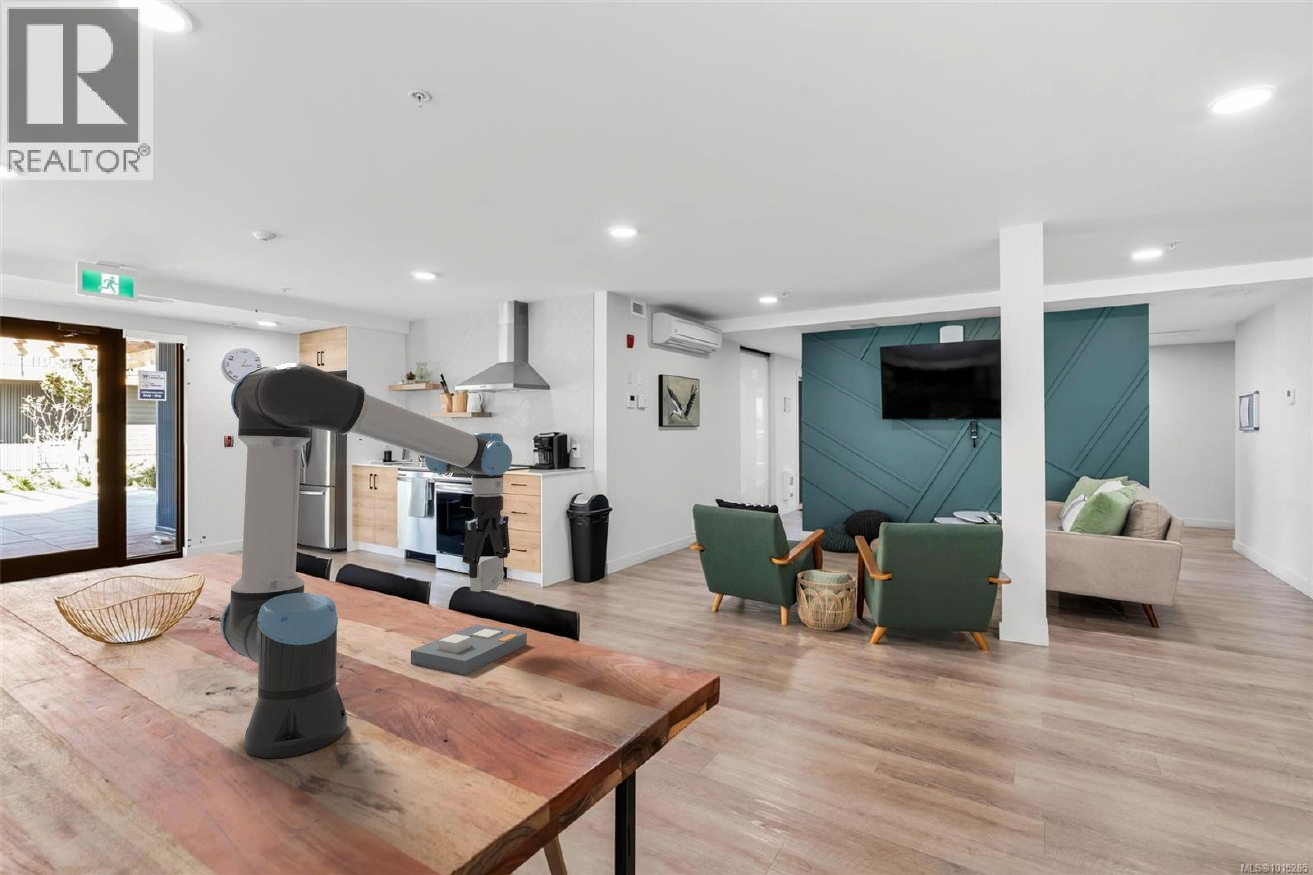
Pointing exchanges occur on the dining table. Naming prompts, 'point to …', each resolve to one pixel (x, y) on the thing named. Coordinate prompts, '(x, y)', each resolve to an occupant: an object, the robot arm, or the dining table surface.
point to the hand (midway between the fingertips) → (486, 587)
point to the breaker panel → (469, 650)
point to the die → (490, 573)
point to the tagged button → (486, 634)
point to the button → (455, 643)
